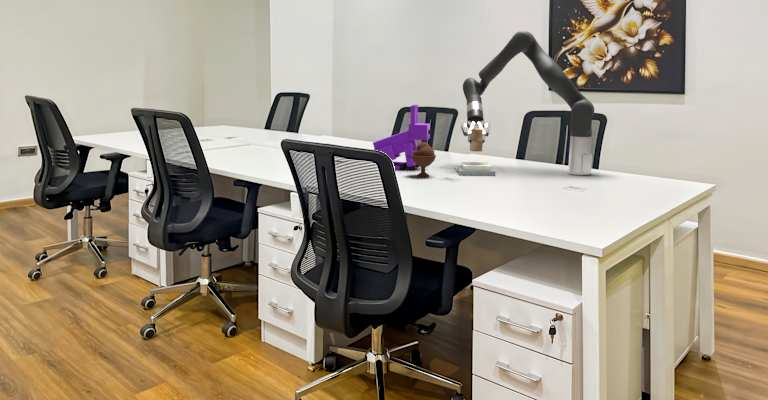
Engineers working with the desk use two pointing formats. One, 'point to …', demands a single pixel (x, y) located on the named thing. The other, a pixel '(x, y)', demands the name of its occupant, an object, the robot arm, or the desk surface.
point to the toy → (405, 141)
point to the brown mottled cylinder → (476, 139)
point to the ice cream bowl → (423, 157)
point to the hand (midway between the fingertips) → (476, 142)
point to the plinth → (477, 173)
